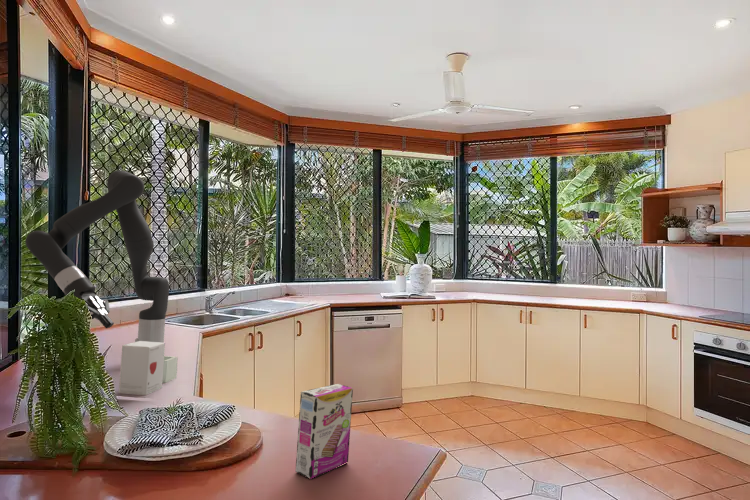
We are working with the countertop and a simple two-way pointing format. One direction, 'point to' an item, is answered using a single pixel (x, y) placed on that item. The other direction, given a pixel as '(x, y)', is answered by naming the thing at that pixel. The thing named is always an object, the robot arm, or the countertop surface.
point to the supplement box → (141, 367)
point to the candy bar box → (323, 429)
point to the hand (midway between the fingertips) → (110, 326)
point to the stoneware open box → (169, 368)
